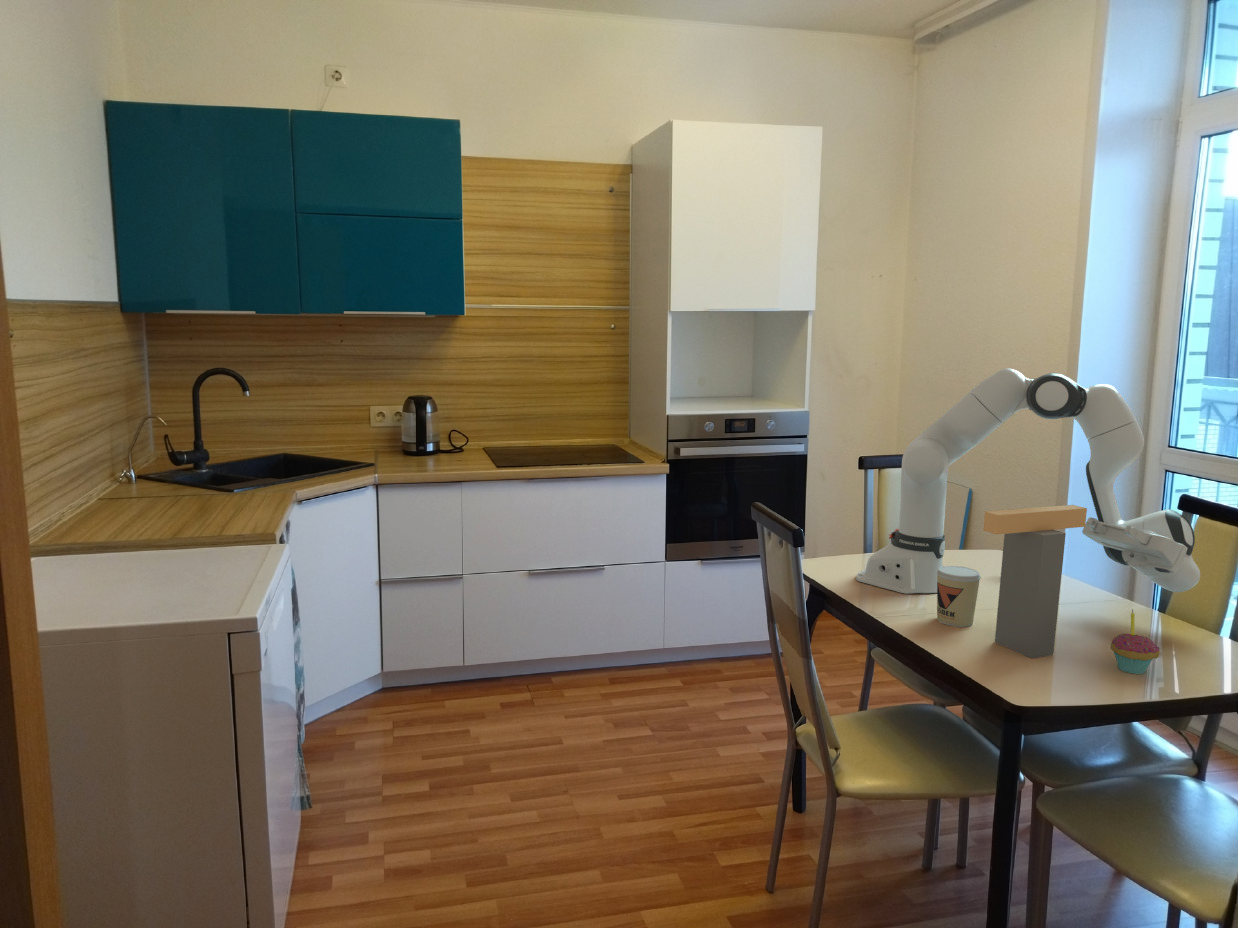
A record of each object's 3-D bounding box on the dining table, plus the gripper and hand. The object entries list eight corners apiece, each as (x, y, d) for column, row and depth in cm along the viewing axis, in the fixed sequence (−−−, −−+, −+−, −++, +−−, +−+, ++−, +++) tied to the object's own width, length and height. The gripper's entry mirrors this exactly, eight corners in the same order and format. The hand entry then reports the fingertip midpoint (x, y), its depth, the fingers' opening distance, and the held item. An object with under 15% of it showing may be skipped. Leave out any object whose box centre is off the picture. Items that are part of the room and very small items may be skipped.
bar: (1070, 523, 190) (1072, 504, 189) (1085, 526, 186) (1087, 508, 186) (983, 530, 181) (984, 511, 180) (996, 534, 178) (998, 515, 177)
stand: (1016, 638, 194) (1027, 522, 189) (1053, 654, 184) (1065, 533, 180) (994, 641, 191) (1005, 524, 187) (1031, 658, 182) (1043, 535, 178)
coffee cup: (924, 617, 207) (928, 567, 205) (955, 612, 211) (959, 563, 209) (954, 630, 198) (958, 578, 197) (985, 625, 202) (990, 574, 200)
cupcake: (1098, 661, 181) (1105, 605, 179) (1138, 661, 182) (1144, 605, 180) (1126, 678, 173) (1132, 619, 171) (1167, 677, 173) (1174, 619, 171)
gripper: (1110, 529, 206) (1074, 503, 201) (1195, 549, 188) (1158, 521, 182) (1098, 553, 206) (1062, 527, 201) (1182, 575, 187) (1144, 548, 182)
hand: (1108, 525), depth 191 cm, fingers open, 8 cm apart
